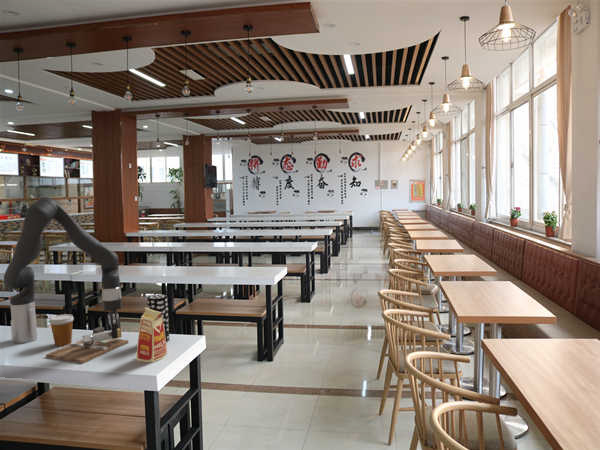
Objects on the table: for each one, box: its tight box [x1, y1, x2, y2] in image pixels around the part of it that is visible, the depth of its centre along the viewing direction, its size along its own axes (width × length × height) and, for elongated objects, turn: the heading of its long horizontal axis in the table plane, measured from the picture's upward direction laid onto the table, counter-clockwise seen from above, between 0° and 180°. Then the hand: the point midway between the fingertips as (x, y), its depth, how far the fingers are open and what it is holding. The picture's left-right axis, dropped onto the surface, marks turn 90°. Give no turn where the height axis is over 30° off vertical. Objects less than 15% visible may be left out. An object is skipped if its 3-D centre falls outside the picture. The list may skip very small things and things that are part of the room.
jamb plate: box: [45, 326, 129, 364], centre depth 188 cm, size 20×24×6 cm
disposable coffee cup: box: [48, 313, 75, 347], centre depth 196 cm, size 10×10×12 cm
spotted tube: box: [146, 293, 170, 343], centre depth 196 cm, size 8×8×20 cm
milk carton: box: [135, 307, 168, 363], centre depth 177 cm, size 9×9×20 cm
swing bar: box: [82, 327, 122, 346], centre depth 191 cm, size 15×4×4 cm, turn 127°
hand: (114, 338), depth 191 cm, fingers closed
